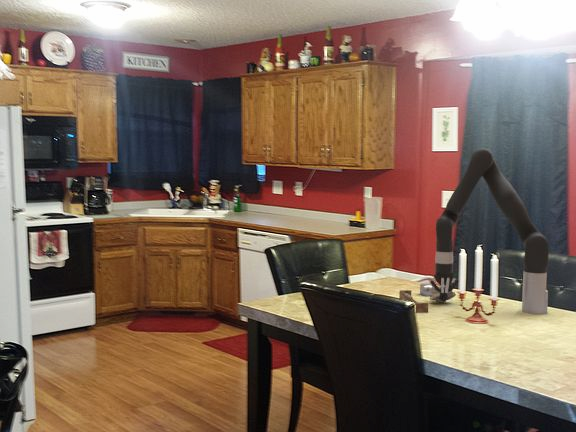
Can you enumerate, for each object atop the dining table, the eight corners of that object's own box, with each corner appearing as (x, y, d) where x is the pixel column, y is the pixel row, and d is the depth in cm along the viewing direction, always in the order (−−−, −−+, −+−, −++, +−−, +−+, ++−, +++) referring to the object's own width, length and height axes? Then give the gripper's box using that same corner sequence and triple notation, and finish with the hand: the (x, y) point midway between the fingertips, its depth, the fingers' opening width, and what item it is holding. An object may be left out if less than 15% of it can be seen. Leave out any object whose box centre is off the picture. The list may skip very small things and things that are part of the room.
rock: (428, 297, 293) (429, 285, 302) (431, 309, 296) (431, 296, 304) (454, 294, 290) (454, 282, 298) (457, 306, 292) (456, 293, 301)
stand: (410, 298, 305) (410, 288, 304) (428, 312, 278) (428, 301, 277) (399, 299, 304) (399, 289, 304) (415, 313, 277) (416, 302, 277)
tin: (427, 293, 317) (427, 283, 316) (435, 296, 311) (435, 285, 311) (417, 294, 314) (417, 284, 314) (424, 297, 309) (425, 286, 308)
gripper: (456, 260, 294) (455, 299, 296) (426, 260, 293) (426, 299, 295) (462, 262, 287) (461, 302, 289) (431, 263, 286) (431, 303, 287)
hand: (443, 301), depth 292 cm, fingers closed
